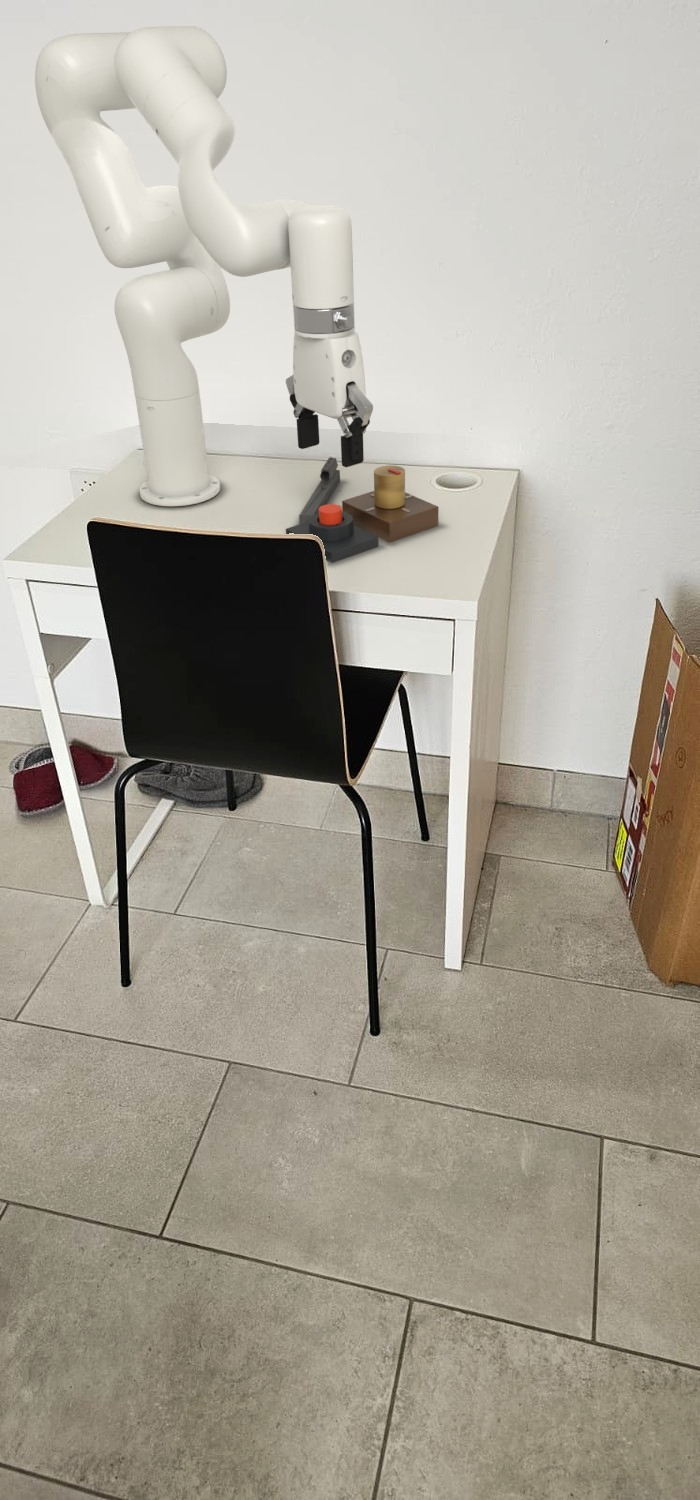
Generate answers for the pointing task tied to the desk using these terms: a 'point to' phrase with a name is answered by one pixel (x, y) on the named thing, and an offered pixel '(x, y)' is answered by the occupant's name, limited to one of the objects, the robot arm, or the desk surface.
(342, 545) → the switch box
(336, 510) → the power button
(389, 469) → the dimmer knob
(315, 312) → the robot arm
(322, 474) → the dark grey long bar
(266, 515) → the desk surface
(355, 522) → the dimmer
